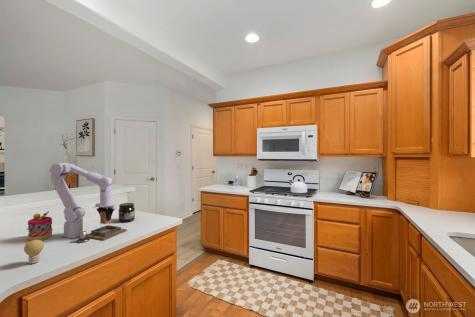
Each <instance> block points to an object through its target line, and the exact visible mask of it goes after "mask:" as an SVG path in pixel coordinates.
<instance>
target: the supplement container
mask: <svg viewBox="0 0 475 317" xmlns="http://www.w3.org/2000/svg"><path fill="white" fill-rule="evenodd" d="M135 209H136V208H135V203H134V202H124V203H120V204H119V205H118V221H119V222H120V223H130V222H133V221H134V220H135V219H136V215H135V212H136V211H135Z"/></svg>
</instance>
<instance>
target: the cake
mask: <svg viewBox="0 0 475 317" xmlns="http://www.w3.org/2000/svg"><path fill="white" fill-rule="evenodd" d="M49 213H50V212H49V210H48V211H46V212H44V213H43V214H42V215H41V214H40V213H35V214H33V216H32V219H29V220H28V221H27V225H28V226H27V231H28V234H27V236H28V242H30V241H32V240H41V241H44V240H47V239H49V238H52V236H53V234H52V233H53V228H52V226H53V225H52V224H53V218H52V217H51V216H48V215H49Z"/></svg>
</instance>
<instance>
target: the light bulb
mask: <svg viewBox="0 0 475 317" xmlns="http://www.w3.org/2000/svg"><path fill="white" fill-rule="evenodd" d="M44 246H45V244H44V241H43V240H32V241H28V242H27V243H26V244H25V245H24V247H23V250H24V253H25V254H26V255H27V256H28V263H29V264H30V265H32V264H37V263H39V262H40V261H41V252H42V251H43V249H44Z"/></svg>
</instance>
